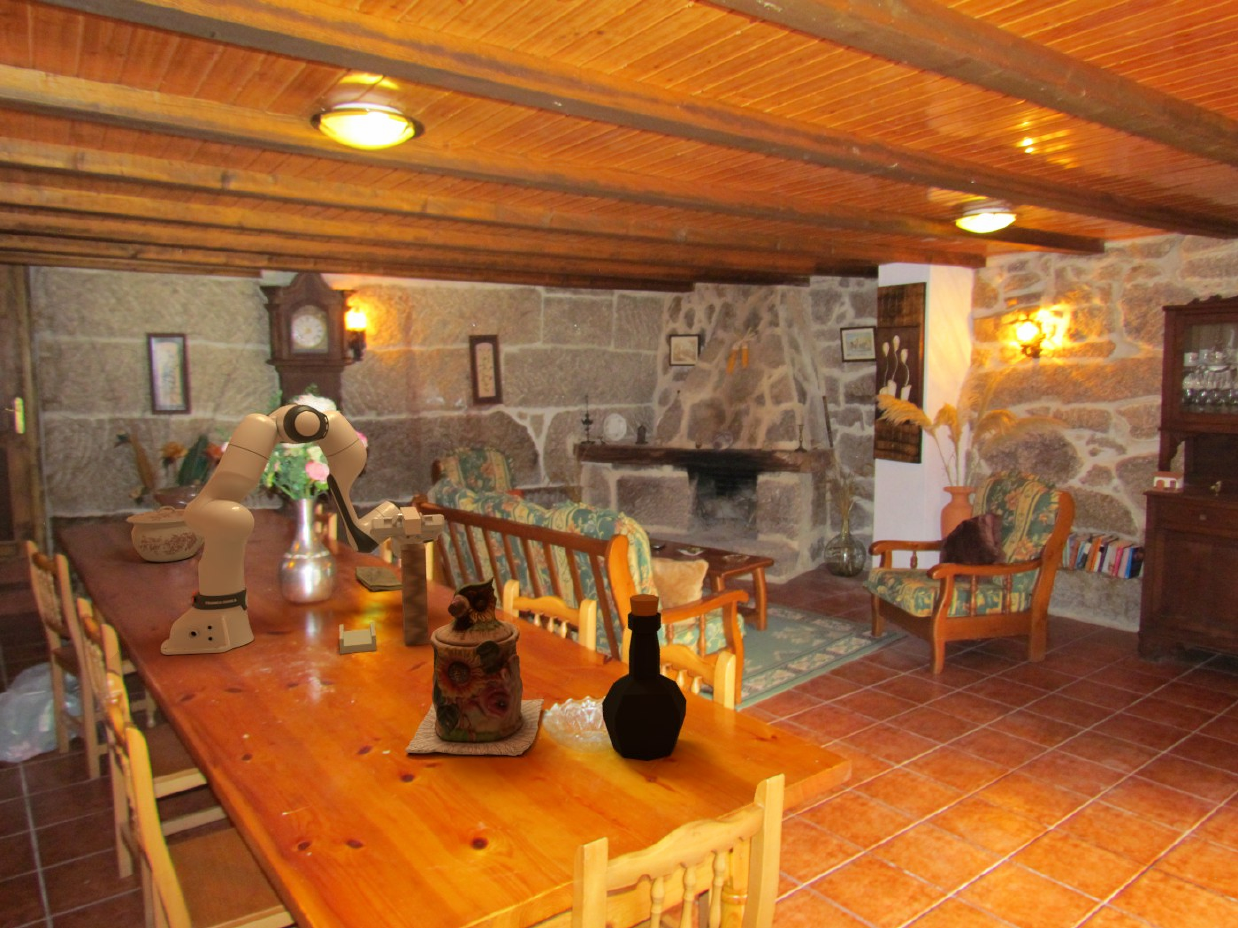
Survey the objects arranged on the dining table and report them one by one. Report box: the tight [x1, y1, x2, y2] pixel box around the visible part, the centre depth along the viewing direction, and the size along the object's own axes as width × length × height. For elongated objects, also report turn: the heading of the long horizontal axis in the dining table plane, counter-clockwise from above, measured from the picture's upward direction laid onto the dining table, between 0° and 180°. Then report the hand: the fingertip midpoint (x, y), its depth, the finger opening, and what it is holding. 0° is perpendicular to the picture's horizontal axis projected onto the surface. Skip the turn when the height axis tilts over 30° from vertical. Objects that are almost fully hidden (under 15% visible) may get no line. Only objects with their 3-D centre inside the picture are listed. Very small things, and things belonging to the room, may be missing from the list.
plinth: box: [400, 543, 430, 647], centre depth 232 cm, size 6×7×26 cm
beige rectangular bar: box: [400, 506, 421, 535], centre depth 236 cm, size 4×20×4 cm, turn 18°
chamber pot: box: [125, 505, 205, 564], centre depth 333 cm, size 28×28×21 cm
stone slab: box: [354, 566, 402, 593], centre depth 298 cm, size 12×4×30 cm
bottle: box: [601, 593, 687, 762], centre depth 167 cm, size 16×16×30 cm
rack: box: [339, 621, 377, 655], centre depth 231 cm, size 9×13×4 cm
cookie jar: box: [405, 575, 545, 757], centre depth 175 cm, size 25×25×32 cm
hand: (409, 515), depth 240 cm, fingers closed on beige rectangular bar, 4 cm apart
